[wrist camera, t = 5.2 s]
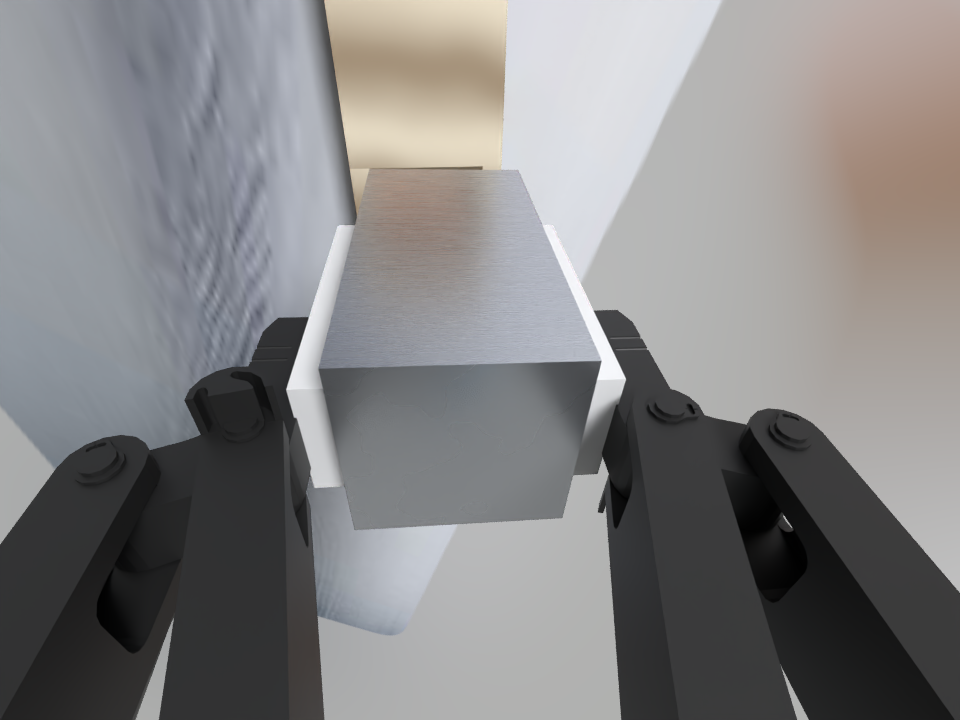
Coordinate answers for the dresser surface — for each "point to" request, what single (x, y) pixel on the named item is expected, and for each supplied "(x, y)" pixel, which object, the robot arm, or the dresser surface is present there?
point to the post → (455, 355)
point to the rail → (419, 83)
